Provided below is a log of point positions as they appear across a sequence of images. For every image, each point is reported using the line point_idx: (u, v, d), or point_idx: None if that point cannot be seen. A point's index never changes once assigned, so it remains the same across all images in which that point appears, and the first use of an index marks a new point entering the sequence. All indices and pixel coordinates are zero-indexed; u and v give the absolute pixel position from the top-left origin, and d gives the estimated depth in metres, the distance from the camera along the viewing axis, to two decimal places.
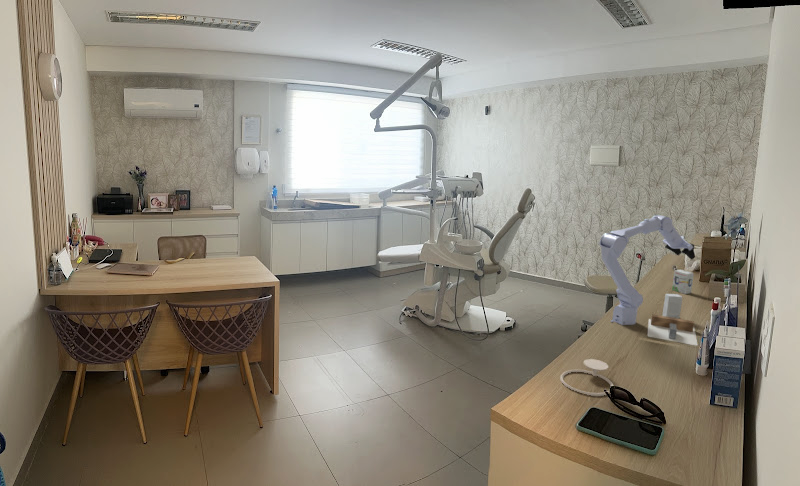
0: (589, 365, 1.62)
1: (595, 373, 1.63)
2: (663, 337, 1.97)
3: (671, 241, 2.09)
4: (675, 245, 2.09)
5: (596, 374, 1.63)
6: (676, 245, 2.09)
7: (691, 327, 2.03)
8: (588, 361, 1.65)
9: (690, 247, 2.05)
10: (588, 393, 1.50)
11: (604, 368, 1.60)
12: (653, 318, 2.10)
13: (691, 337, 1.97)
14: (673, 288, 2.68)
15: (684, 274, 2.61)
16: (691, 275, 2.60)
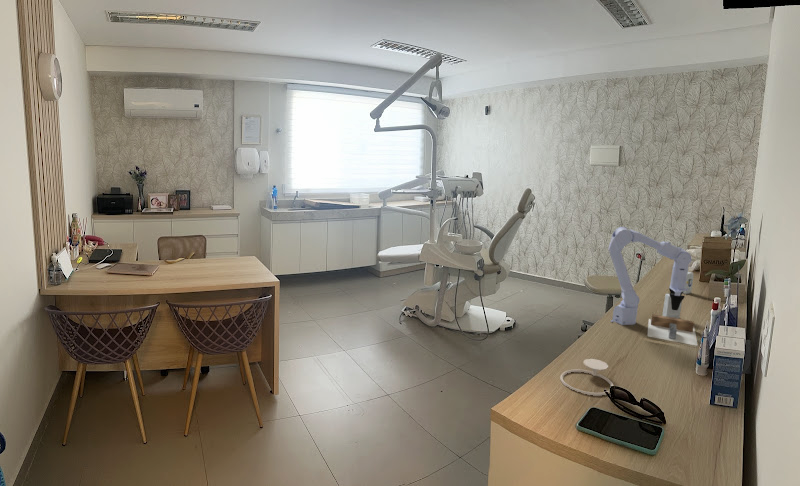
0: (589, 365, 1.62)
1: (595, 373, 1.63)
2: (663, 337, 1.97)
3: (672, 278, 2.04)
4: (672, 285, 2.04)
5: (596, 374, 1.63)
6: (672, 286, 2.03)
7: (691, 327, 2.03)
8: (587, 361, 1.65)
9: (677, 293, 1.99)
10: (588, 393, 1.50)
11: (604, 368, 1.60)
12: (653, 318, 2.10)
13: (691, 337, 1.97)
14: None
15: None
16: (691, 275, 2.60)
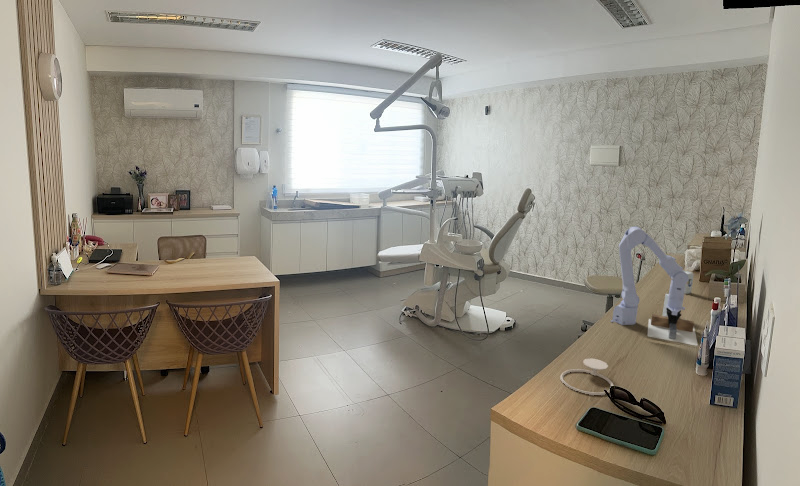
0: (589, 364, 1.62)
1: (595, 372, 1.63)
2: (663, 337, 1.97)
3: (669, 297, 2.05)
4: (669, 304, 2.06)
5: (596, 373, 1.63)
6: (669, 305, 2.05)
7: (691, 327, 2.03)
8: (587, 360, 1.65)
9: (674, 312, 2.00)
10: (588, 393, 1.50)
11: (604, 367, 1.61)
12: (653, 318, 2.10)
13: (691, 337, 1.97)
14: None
15: None
16: (691, 275, 2.60)
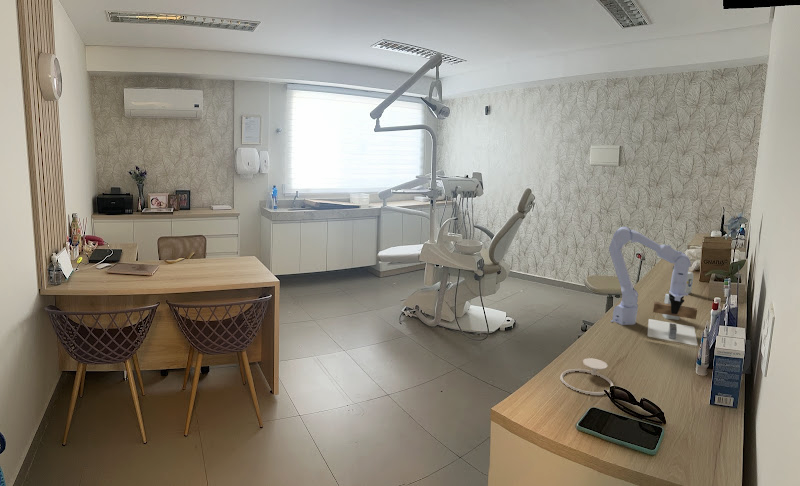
0: (588, 364, 1.62)
1: (595, 372, 1.63)
2: (663, 337, 1.97)
3: (672, 283, 2.01)
4: (672, 290, 2.01)
5: (595, 373, 1.63)
6: (672, 290, 2.01)
7: (694, 314, 1.99)
8: (587, 360, 1.66)
9: (677, 298, 1.96)
10: (589, 392, 1.50)
11: (603, 367, 1.61)
12: (655, 305, 2.06)
13: (691, 337, 1.97)
14: None
15: None
16: (691, 275, 2.60)
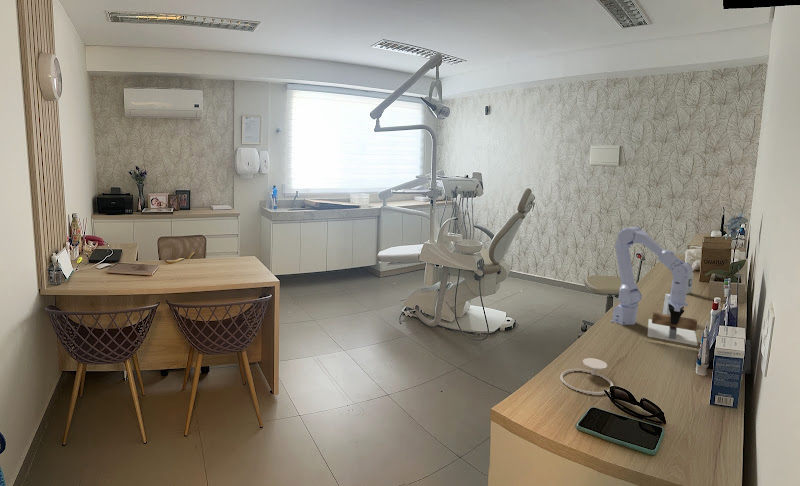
0: (588, 364, 1.63)
1: (594, 372, 1.64)
2: (663, 337, 1.97)
3: (672, 293, 1.95)
4: (671, 300, 1.95)
5: (595, 373, 1.64)
6: (672, 300, 1.95)
7: (694, 326, 1.93)
8: (586, 360, 1.66)
9: (676, 308, 1.90)
10: (589, 392, 1.51)
11: (603, 367, 1.61)
12: (654, 316, 1.99)
13: (691, 337, 1.97)
14: None
15: None
16: (691, 275, 2.60)
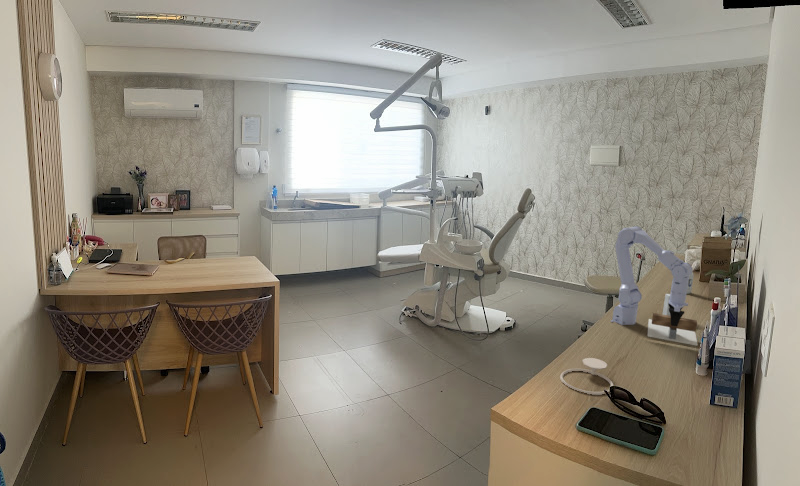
0: (588, 364, 1.63)
1: (594, 372, 1.64)
2: (663, 337, 1.97)
3: (672, 293, 1.95)
4: (671, 300, 1.95)
5: (595, 373, 1.64)
6: (672, 301, 1.95)
7: (694, 326, 1.93)
8: (586, 360, 1.66)
9: (676, 308, 1.90)
10: (589, 392, 1.51)
11: (603, 367, 1.61)
12: (654, 317, 1.99)
13: (691, 337, 1.97)
14: None
15: None
16: (691, 275, 2.60)
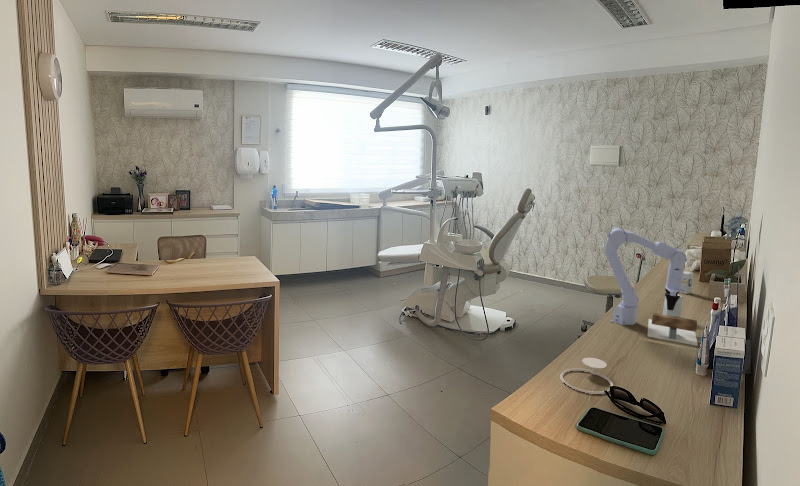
0: (588, 364, 1.63)
1: (594, 371, 1.64)
2: (663, 337, 1.97)
3: (668, 278, 2.03)
4: (667, 285, 2.03)
5: (595, 372, 1.64)
6: (668, 286, 2.03)
7: (694, 326, 1.93)
8: (586, 360, 1.66)
9: (672, 293, 1.98)
10: (589, 392, 1.51)
11: (603, 366, 1.61)
12: (654, 317, 1.99)
13: (691, 337, 1.97)
14: None
15: (684, 274, 2.61)
16: (691, 275, 2.60)
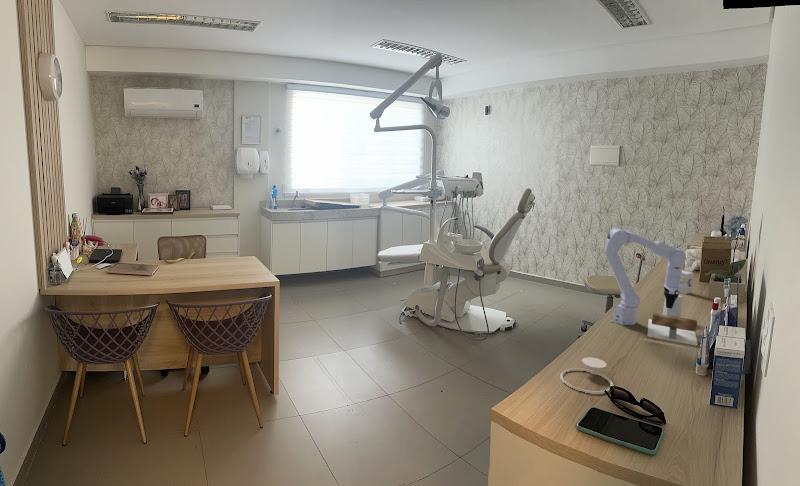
0: (588, 363, 1.63)
1: (594, 371, 1.64)
2: (663, 337, 1.97)
3: (667, 277, 2.05)
4: (666, 283, 2.05)
5: (594, 372, 1.64)
6: (667, 284, 2.05)
7: (694, 326, 1.93)
8: (586, 359, 1.66)
9: (671, 291, 2.00)
10: (589, 391, 1.51)
11: (602, 366, 1.62)
12: (654, 317, 1.99)
13: (691, 337, 1.97)
14: None
15: (684, 274, 2.61)
16: (691, 275, 2.60)
